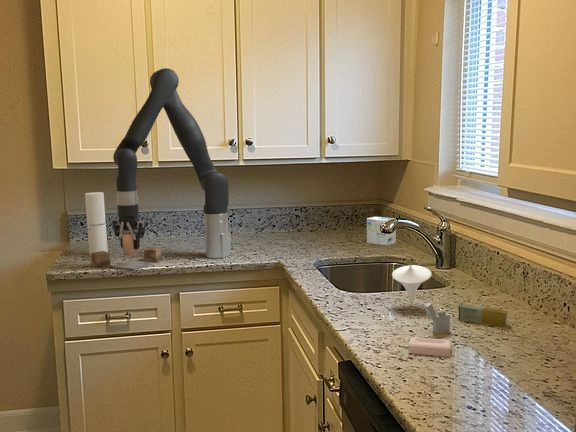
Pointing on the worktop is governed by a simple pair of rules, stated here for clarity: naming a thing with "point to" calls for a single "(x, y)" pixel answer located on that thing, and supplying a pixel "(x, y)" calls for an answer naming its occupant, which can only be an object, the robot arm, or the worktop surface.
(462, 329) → the worktop surface
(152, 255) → the block
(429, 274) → the white spinning top
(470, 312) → the medication box
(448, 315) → the lighter
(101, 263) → the block
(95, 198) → the cylindrical container
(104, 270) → the worktop surface
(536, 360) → the worktop surface
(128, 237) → the tan jar
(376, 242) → the light bulb box
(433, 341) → the soap bar
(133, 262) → the coaster
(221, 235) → the robot arm
